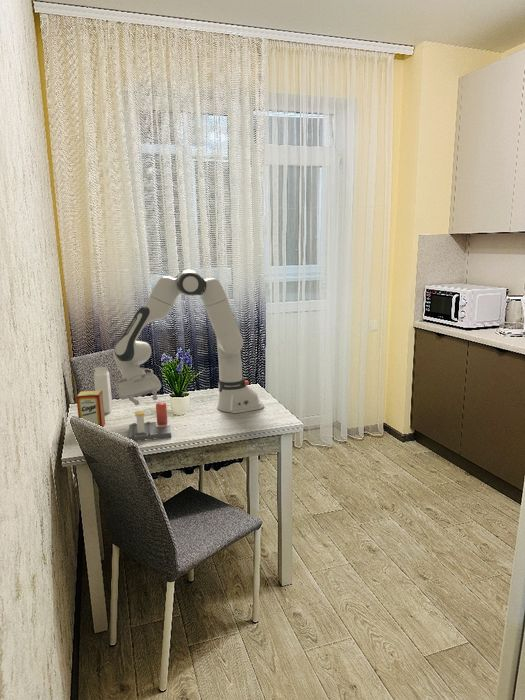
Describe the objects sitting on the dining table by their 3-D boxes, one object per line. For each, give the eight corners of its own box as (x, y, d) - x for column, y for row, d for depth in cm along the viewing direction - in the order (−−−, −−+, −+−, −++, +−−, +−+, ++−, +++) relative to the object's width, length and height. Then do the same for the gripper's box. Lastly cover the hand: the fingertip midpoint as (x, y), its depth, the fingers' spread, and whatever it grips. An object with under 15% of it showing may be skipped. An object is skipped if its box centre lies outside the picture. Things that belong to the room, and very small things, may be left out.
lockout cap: (167, 421, 218) (165, 401, 216) (167, 424, 214) (166, 405, 212) (156, 422, 217) (155, 402, 215) (157, 426, 213) (155, 406, 211)
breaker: (146, 430, 208) (145, 410, 206) (146, 434, 203) (145, 414, 201) (135, 431, 207) (134, 411, 205) (135, 436, 202) (134, 415, 200)
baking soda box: (79, 430, 216) (76, 395, 212) (83, 424, 222) (80, 390, 218) (102, 429, 217) (98, 394, 213) (105, 423, 223) (102, 389, 219)
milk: (110, 413, 236) (106, 368, 232) (97, 413, 236) (92, 369, 231) (112, 409, 242) (108, 365, 237) (100, 409, 242) (95, 365, 237)
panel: (169, 424, 220) (168, 419, 220) (171, 437, 206) (170, 431, 205) (129, 428, 216) (129, 422, 216) (129, 441, 202) (128, 435, 201)
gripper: (115, 377, 218) (127, 403, 213) (155, 368, 232) (168, 393, 227) (111, 385, 222) (123, 411, 217) (150, 376, 236) (163, 400, 231)
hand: (146, 401), depth 222 cm, fingers open, 8 cm apart
